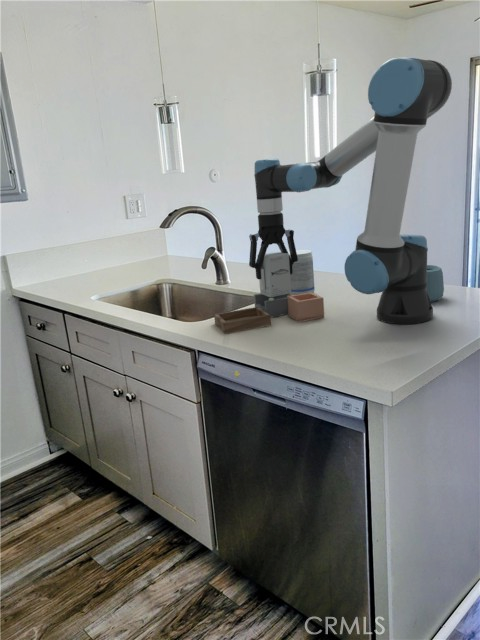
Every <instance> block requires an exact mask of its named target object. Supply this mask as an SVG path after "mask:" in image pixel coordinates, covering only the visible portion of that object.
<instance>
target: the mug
mask: <svg viewBox="0 0 480 640" xmlns="http://www.w3.org/2000/svg"><path fill="white" fill-rule="evenodd" d="M442 269H443V268H442V267H440V266H437V265H432V264H427V292H428V295H429V298H430V301H431V303H432V302H437V301H439V300H441V299H442V298H443V296H444V293H445V292H444V291H445V284H444V275H443V270H442Z"/></svg>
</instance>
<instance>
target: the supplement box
mask: <svg viewBox="0 0 480 640" xmlns="http://www.w3.org/2000/svg"><path fill="white" fill-rule="evenodd" d="M261 268H263V269H264V281H265V290H262V289H260V288H259V290H260V293H261V294H263V295H266V296H268V297H271V298H272V297H275V296H279V295H285V294H287V295H289V294H290V293H291V283H290V266H289V254H287V253H282V252H281V251H271V252H266V253H265V256H264V260H263V263H262V266H261Z"/></svg>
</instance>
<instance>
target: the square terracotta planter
mask: <svg viewBox="0 0 480 640" xmlns="http://www.w3.org/2000/svg"><path fill="white" fill-rule="evenodd" d="M287 298H288V313H289V314H288V316H289V317H290V318H292V319H294V320H295V321H297V322H298V323H301V322H307V321H313V320H318V319H322V318H325V304H324V297H323V296H321V295H318V294H317V293H314V292H313V293H312V292H310V293H304V294H298V295H292V296H290V295H288V296H287Z"/></svg>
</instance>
